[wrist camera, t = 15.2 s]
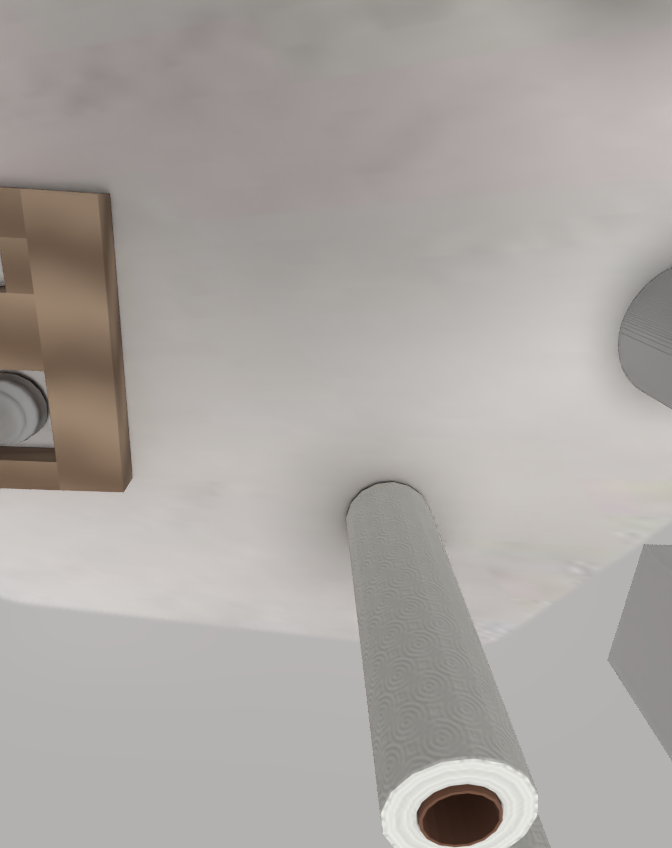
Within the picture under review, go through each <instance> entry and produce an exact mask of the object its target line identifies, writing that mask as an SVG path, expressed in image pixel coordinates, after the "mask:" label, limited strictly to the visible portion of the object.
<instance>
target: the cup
mask: <svg viewBox="0 0 672 848" xmlns="http://www.w3.org/2000/svg"><path fill="white" fill-rule="evenodd" d="M618 347H619V349H618V351H619V358H620V362H621V365H622V368H623V371H624V372H625V374H626V376H627V377H628V378H629V380H630V381H631V382H632V384H634V386H635V387H637V388H638V389H639V390H641V391H642V392H644V393H646V394H647V395H649V396H651V397H652V398H654V399H656V400H657V401H659V402H661V403H662V404H664V405H666V406H667V407H669V408H671V409H672V268H670V269H668V270H666V271H665V272H663V273H661V274H659V275H658V276H657V277H655V278H654V280H652V281H650V282H649V284H647V285H646V286H645V287H644V288H643V289H642V291H640V293H639V294H638V295H637V296H636V297H635V299H634V301H633V303H631V305H630V307H629V308H628V310H627V312H626V315H625V317H624V320H623V323H622V326H621V329H620V332H619V341H618Z"/></svg>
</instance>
